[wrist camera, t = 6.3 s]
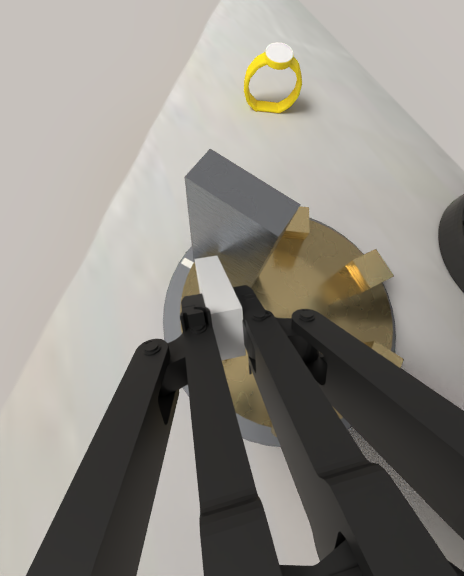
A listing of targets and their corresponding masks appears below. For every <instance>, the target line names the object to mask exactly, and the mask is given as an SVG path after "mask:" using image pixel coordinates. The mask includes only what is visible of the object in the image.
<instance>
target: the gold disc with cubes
mask: <svg viewBox="0 0 464 576" xmlns="http://www.w3.org/2000/svg"><path fill="white" fill-rule="evenodd" d="M185 185H186V194H187V204H188V213H189V222H190V232H191V241H192V251H193V260H194V259H198V258H205V257H211V256H218V258H219V260H220V262H221V264H222V267H223V269H224V271H225V273H226V275H227V277H228V279H229V281H230V283H231V285H232V287H237V286H243V285H247V286H249V287H250V288H252V289H253V291H254V293H255V294H256V296H257V298H258V299H259V301H260V303H261V304H262V306H263V307H264V309H266V310H268V311H270V312H272V313H273V315H274V316H275V317H277V318H292V314H293V312H295V311H296V310H299V309H311V310H315V311H317V312H319V313H320V314H322V315H323V316H324V317H326V318H327V319H329V320H330V321H332V322H333V323H335V324H336V325H338V326H339V327H341V328H342V329H344V330H345V331H347V332H348V333H350V334H351V335H352V336H354V337H355V338H357V339H358V340H360V341H361V342H363V343H364V344H366V345H367V346H369V347H370V348H372V349H373V350H375V351H376V352H377V353H379V354H380V355H382V356H383V357H385V358H386V359H388V360H389V361H391V362H392V363H394V364H395V365H397V366H398V367H401V365H402V362H403V360H404V359H403V358H401V357H400V356H398V355H397V354H395V353H393V352H392V351H391V348H392V338H393V324H392V315H391V309H390V304H389V301H388V297H387V294H386V291H385V289H384V287H383V284H382V282H384V281H386V280H388V279H389V278H391V277H393V276H394V275H393V274H392V272H391V271H390V269H389V268H388V266H387V265H386V263H385V262H384V260H383V259H382V257H381V256H380V254H379V253H378V251H377V250H376V249H375V250H373V251H371V252H368V253H366V254H364V255H363V254H362V253H361V252H360V251H359V249H358V248H357V247H355V246H354V245H353V244H352V243H351V242H350V241H349V240H347V239H346V238H345V237H343V236H342V235H340V234H339V233H337V232H336V231H334V230H332V229H330V228H328V227H327V226H324V225H322V224H320V223H317V222H315V221H312V220H309V207H300V204H299V203H297V202H295V201H294V200H292V199H291V198H289V197H287V196H286V195H284V194H283V193H281V192H279V191H278V190H276V189H274V188H273V187H271V186H270V185H268V184H266V183H265V182H263V181H262V180H260V179H258V178H257V177H255V176H254V175H252V174H250V173H249V172H247V171H245V170H244V169H242V168H241V167H239V166H237V165H236V164H234V163H233V162H231V161H229V160H228V159H226V158H225V157H223V156H221V155H220V154H218V153H216V152H215V151H213V150H212V149H209V151H208V152H207V153H206V154H205V155H204V156H203V157H202V158H201V159H200V161H199V162H198V163H197V164H196V165H195V166H194V167H193V168H192V169H191V170H190V172H189V173H188V174H187V175H186V176H185ZM196 294H200V291H199V284H198V278H197V272H196V266H195V260H194V263H193V265H192V267H191V269H190V271H189V273H188V275H187V278H186V281H185V284H184V287H183V292H182V297H181V301H182V299H183V298H184V297H185V296H190V295H196ZM181 312H182V307H181V304H180V313H181ZM180 323H181V321H180ZM181 332H182V333H183V330H182V326H181ZM245 350H246V348H245ZM222 364H223V367H224V371H225V375H226V379H227V382H228V386H229V390H230V394H231V397H232V401H233V405H234V409H235V412H236V413H237V414H239V415H240V416H242V417H244V418H246V419H248V420H250V421H253V422H255V423H257V424H260V425H264V426H267V427H271V433H272V434H273V435H274V436H275V437H277V436H276V433H275V430H274V428H273V425H272V423H271V420H270V417H269V415H268V412H267V409H266V407H265V404H264V402H263V399H262V396H261V394H260V391H259V388H258V386H257V383H256V381H255V378H254V375H253V373H252V374H250V375H249V362H248V353H247V350H246V355H245V356H240V357H235V358H231V359H226V360H222ZM332 407H333V406H332ZM333 408H334V407H333ZM334 410H335V411H336V413H337V415H338V416H339V418H340V419H342V418H343V417H342V416H341V415H340V414H339V413H338V411H337V410H336V409H335V408H334Z"/></svg>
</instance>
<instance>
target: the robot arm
mask: <svg viewBox="0 0 464 576" xmlns="http://www.w3.org/2000/svg"><path fill="white" fill-rule="evenodd" d="M439 245H440V250H441V254H442V257H443V260H444V262H445V264H446V267H447V269H448V270H449V272H450V274H451V276H452V277H453V279H454V280H455V282H456V283H457V284H458V286H459V287H460V288H461V289H462V290H463V291H464V194H463V195H462V196H460V197H459V198H457V199H456V200H454V201H453V202H452V203H451V204H450V205H449V206H448V207H447V209H446V210H445V212H444V214H443V216H442V218H441V221H440V226H439ZM194 260H195V266H196V272H197V278H198V284H199V291H200V294H196V295H190V296H185V297H184V298H183V299H182V301H181V307H182V312H181V313H180V321H181V326H182V330H183V333H182V334H181V335H180V337H178V338H177V339H175V340H173V341H171V342H169V343H167V342H166V341H164V340H162V339H152V340H148V341H146V342H144V343H142V344H141V345H140V346H139V347H138V348H137V349H136V351H135V353H134V355H133V357H132V359H131V361H130V364H129V366H128V368H127V370H126V372H125V374H124V376H123V378H122V380H121V382H120V384H119V386H118V388H117V390H116V392H115V394H114V396H113V398H112V400H111V402H110V404H109V407H108V409H107V411H106V413H105V415H104V417H103V419H102V421H101V423H100V425H99V427H98V429H97V431H96V433H95V435H94V437H93V439H92V441H91V443H90V445H89V448H88V450H87V452H86V454H85V456H84V458H83V460H82V462H81V464H80V466H79V468H78V470H77V472H76V474H75V476H74V478H73V480H72V482H71V484H70V486H69V488H68V491H67V493H66V495H65V497H64V499H63V501H62V503H61V505H60V507H59V509H58V511H57V513H56V515H55V517H54V519H53V521H52V523H51V525H50V527H49V529H48V532H47V534H46V536H45V538H44V540H43V542H42V544H41V546H40V548H39V550H38V552H37V554H36V556H35V558H34V560H33V562H32V564H31V566H30V568H29V570H28V572H27V575H26V576H136V574H137V570H138V566H139V562H140V557H141V553H142V549H143V545H144V540H145V536H146V532H147V528H148V523H149V519H150V515H151V511H152V506H153V502H154V498H155V494H156V489H157V485H158V481H159V477H160V472H161V468H162V464H163V460H164V455H165V451H166V447H167V443H168V438H169V434H170V430H171V426H172V421H173V417H174V413H175V409H176V404H177V400H178V396H179V389H180V388H182V387H184V386H186V385H188V389H189V399H190V409H191V420H192V430H193V440H194V450H195V460H196V470H197V481H198V491H199V501H200V537H201V548H202V559H203V570H204V576H464V572H463V571H462V570H460V569H459V568H458V567H456V566H455V565H453V564H452V563H451V562H449V561H448V560H447V559H446V558H445V556H444V555H443V553H442V552H441V550H440V549H439V547H438V546H437V544H436V543H435V541H434V540H433V538H432V537H431V536H430V534H429V533H428V531H427V530H426V528H425V527H424V525H423V524H422V522H421V521H420V519H419V518H418V516H417V515H416V513H415V512H414V511H413V509H412V508H411V506H410V505H409V503H408V502H407V500H406V499H405V497H404V496H403V494H402V493H401V491H400V490H399V488H398V487H397V486H396V484H395V483H394V481H393V480H392V478H391V477H390V476H389V474H388V473H387V472H386V471H385V469H383V468H382V467H381V466H380V465H379V464H375V463H370V462H369V461H368V460H367V459H366V458H365V457H364V455H363V454H362V452H361V451H360V449H359V447H358V446H357V444H356V443H355V441H354V440H353V438H352V436H351V435H350V433H349V432H348V430H347V429H346V427H345V426H344V424H343V422H342V421H341V419H340V418H339V416H338V415H337V413H336V411H335V410H334V408H335V409H336V410H337V411H338V413H339V414H340V415H341V416H342V417H343V418H344V419H345V420H346V421H347V422H348V423H349V424H350V425H351V426H352V427H353V428H354V429H355V430H356V431H357V432H358V433H359V434H360V435H361V436H362V437H363V438H364V439H365V440H366V441H367V442H368V443H369V444H370V445H371V446H372V447H373V448H374V449H375V450H376V451H377V452H378V453H379V454H380V455H381V456H382V457H383V458H384V459H385V460H386V462H387V463H388V464H389V465H390V466H391V467H392V468H393V469H394V470H395V471H396V472H397V473H398V474H399V475H400V476H401V477H402V478H403V479H404V480H405V481H406V482H407V483H408V484H409V485H410V486H411V487H412V488H413V489H414V490H415V491H416V492H417V493H418V494H419V495H420V496H421V497H422V498H423V499H424V500H425V501H426V502H427V503H428V504H429V505H430V506H431V507H432V508H433V510H434V511H435V512H436V513H437V514H438V515H439V516H440V517H441V518H442V519H443V520H444V521H445V522H446V523H447V524H448V525H449V526H450V527H451V528H452V529H453V530H454V531H455V532H456V533H457V534H458V535H460V536H461V537H462V538H463V539H464V411H463V410H461V409H460V408H458V407H457V406H456V405H454V404H453V403H451V402H450V401H448V400H447V399H445V398H444V397H442V396H441V395H439V394H438V393H436V392H435V391H433V390H432V389H430V388H429V387H428V386H426V385H425V384H423V383H422V382H420V381H419V380H417V379H416V378H414V377H413V376H411V375H410V374H408V373H407V372H405V371H404V370H403V369H401V368H400V367H398V366H397V365H395V364H394V363H392V362H391V361H389V360H388V359H386V358H385V357H383V356H382V355H380V354H379V353H377V352H376V351H375V350H373V349H372V348H370V347H369V346H367V345H366V344H364V343H363V342H361V341H360V340H358V339H357V338H355V337H354V336H352V335H351V334H350V333H348V332H347V331H345V330H344V329H342V328H341V327H339V326H338V325H336V324H335V323H333V322H332V321H330V320H329V319H327V318H326V317H324V316H323V315H322V314H320V313H319V312H317V311H315V310H311V309H299V310H296V311H295V312H293V314H292V318H277V317H275V316H274V315H273V313H272V312H270V311H268V310H266V309H264V307H263V306H262V304H261V303H260V301H259V299H258V298H257V296H256V294H255V293H254V291H253V289H252V288H250V287H249V286H247V285H243V286H237V287H232V285H231V283H230V281H229V279H228V277H227V275H226V273H225V271H224V269H223V267H222V264H221V262H220V260H219V258H218V256H211V257H205V258H198V259H194ZM245 348H246V350H247V353H248V362H249V375H250V374H252V373H253V375H254V378H255V381H256V383H257V386H258V388H259V391H260V394H261V396H262V399H263V402H264V404H265V407H266V409H267V412H268V415H269V417H270V420H271V423H272V425H273V428H274V430H275V433H276V436H277V438H278V441H279V443H280V446H281V449H282V451H283V454H284V457H285V459H286V462H287V464H288V467H289V470H290V472H291V475H292V478H293V480H294V483H295V485H296V488H297V491H298V493H299V496H300V498H301V501H302V504H303V506H304V509H305V512H306V514H307V517H308V519H309V522H310V525H311V529H312V532H313V537H314V542H315V546H316V550H317V554H318V557H319V560H320V562H319V563H318V564H316V565H314V566H296V565H279V562H278V559H277V555H276V551H275V548H274V544H273V540H272V537H271V533H270V529H269V526H268V522H267V518H266V515H265V512H264V508H263V505H262V502H261V500H260V498H259V497H258V494H257V491H256V487H255V484H254V480H253V476H252V472H251V469H250V465H249V461H248V457H247V454H246V450H245V446H244V442H243V439H242V435H241V431H240V427H239V424H238V420H237V416H236V412H235V409H234V405H233V401H232V397H231V394H230V390H229V386H228V382H227V379H226V375H225V371H224V367H223V364H222V360H226V359H231V358H235V357H240V356H245V355H246V350H245ZM332 406H333V407H334V408H333V407H332Z"/></svg>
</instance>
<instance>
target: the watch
mask: <svg viewBox="0 0 464 576" xmlns="http://www.w3.org/2000/svg"><path fill="white" fill-rule="evenodd" d="M265 65H268V66H269V67H271V68H273V69H277V70H283V69H286V68H288V67H290V68H291V69H292V70H293V71H294V72H295V73H296V77H297V81H296V85H295V88H294V90H293V91H292V92H291V93H290V95H289V96H288V97H287V98H285V99H284V100H282V101H280V102H278V103H275V102H267V101H258V100H256V99H255V98H254V97H253V96H252V95H251V93H250V91H249V87H248V86H249V82H250V78H251V77H252V76H253V75H254V74H255V72H256V71H257V70H258V68H261V67H263V66H265ZM301 86H302V76H301V71H300V66H299V63H298V61H297V60H296V59H295V58H294V57H293V51H292V49H291V48H290V47H289V46H288V45H286V44H284V43H280V42H275V43H271V44H269V45H268V46H267V47H266V49H265V52H264V53H262V54H260V55H258V56H257V57H256V58H255V59H254V60H253V61H252V63H251V64H250V65H249V67H248V69H247V71H246V75H245V80H244V93H245V97H246V101H247V102H248V104H249V105H250V106H251V107H252V109H253V110H254V111H256V112H257V111H262V112H273V113H281V112H283V111H285V110H286V109H288V108H289V107H291V106H292V104H293V103H294V102H295V101H296V100H297V98H298V96H299V94H300V90H301Z"/></svg>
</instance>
